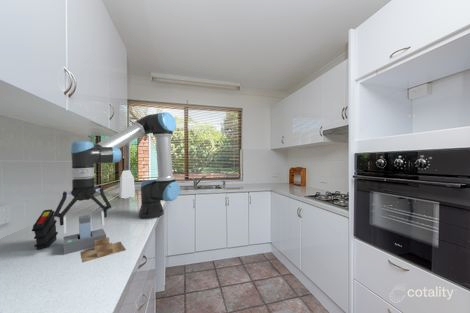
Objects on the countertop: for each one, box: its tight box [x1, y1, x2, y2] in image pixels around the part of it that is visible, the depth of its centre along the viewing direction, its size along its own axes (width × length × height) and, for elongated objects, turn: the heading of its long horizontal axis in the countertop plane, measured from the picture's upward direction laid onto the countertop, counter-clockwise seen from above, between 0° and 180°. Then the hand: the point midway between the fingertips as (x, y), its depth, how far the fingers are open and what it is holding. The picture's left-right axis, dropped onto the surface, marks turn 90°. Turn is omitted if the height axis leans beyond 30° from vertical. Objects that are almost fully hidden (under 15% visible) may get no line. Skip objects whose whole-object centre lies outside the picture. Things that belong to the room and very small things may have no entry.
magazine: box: [31, 209, 59, 251], centre depth 91 cm, size 4×13×15 cm, turn 21°
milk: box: [118, 169, 136, 199], centre depth 201 cm, size 12×12×26 cm
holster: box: [79, 237, 127, 263], centre depth 81 cm, size 14×11×4 cm
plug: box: [78, 214, 92, 239], centre depth 87 cm, size 4×5×12 cm
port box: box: [62, 228, 107, 256], centre depth 87 cm, size 14×10×5 cm
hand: (84, 228), depth 87 cm, fingers open, 12 cm apart
